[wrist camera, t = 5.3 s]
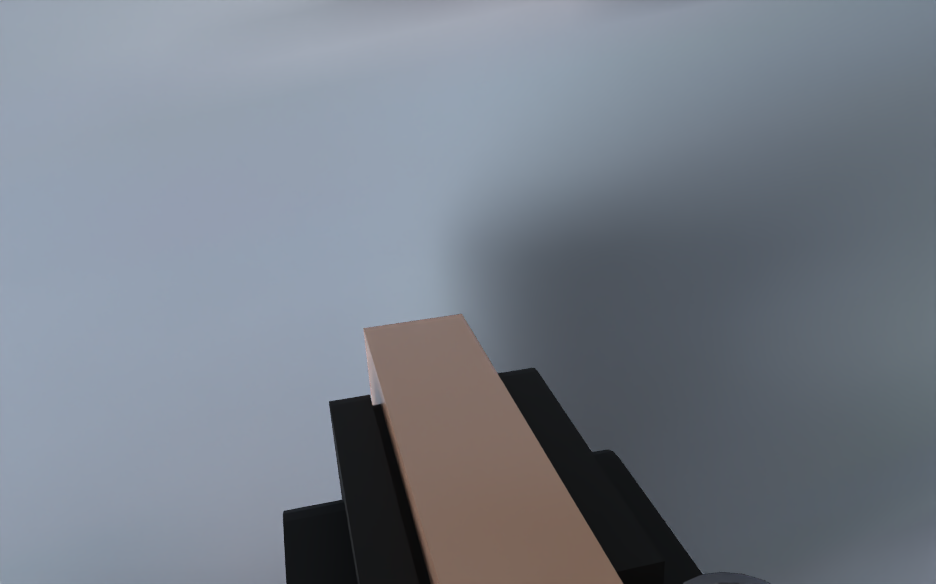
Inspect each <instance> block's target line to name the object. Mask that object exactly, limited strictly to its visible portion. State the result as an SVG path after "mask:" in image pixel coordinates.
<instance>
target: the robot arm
mask: <svg viewBox="0 0 936 584" xmlns="http://www.w3.org/2000/svg"><path fill="white" fill-rule="evenodd" d="M498 375H499V377H500V378H501V380H502V382H503V383H504V385H505V387H506V389H507V390H508V392H509V394H510V395H511V397H512V399H513V400H514V402H515V404H516V405H517V407H518V409H519V410H520V412H521V414H522V415H523V417H524V419H525V420H526V422H527V424H528V425H529V427H530V429H531V430H532V432H533V434H534V435H535V437H536V439H537V440H538V442H539V444H540V445H541V447H542V449H543V450H544V452H545V454H546V455H547V457H548V459H549V460H550V462H551V464H552V465H553V467H554V469H555V470H556V472H557V474H558V475H559V477H560V479H561V480H562V482H563V484H564V485H565V487H566V489H567V490H568V492H569V494H570V496H571V497H572V499H573V501H574V502H575V504H576V506H577V507H578V509H579V511H580V512H581V514H582V516H583V517H584V519H585V521H586V522H587V524H588V526H589V527H590V529H591V531H592V532H593V534H594V536H595V537H596V539H597V541H598V542H599V544H600V546H601V547H602V549H603V551H604V552H605V554H606V556H607V557H608V559H609V561H610V562H611V564H612V566H613V567H614V569H615V571H616V572H617V574H618V576H619V577H620V579H621V581H622V582H623V584H771V583H769V582H767V581H765V580H762V579H758V578H755V577H752V576H748V575H745V574H738V573H726V572H718V573H711V574H704V575H703V574H702V573H701V572H700V570H699V569H698V567H697V566H696V565H695V563H694V562H693V560H692V559H691V558H690V556H689V555H688V553H687V552H686V551H685V549H684V548H683V546H682V545H681V544H680V542H679V541H678V539H677V538H676V537H675V535H674V534H673V532H672V531H671V530H670V528H669V527H668V525H667V524H666V523H665V521H664V520H663V519H662V517H661V516H660V514H659V513H658V512H657V510H656V509H655V507H654V506H653V505H652V503H651V502H650V500H649V499H648V498H647V496H646V495H645V493H644V492H643V491H642V489H641V488H640V486H639V485H638V484H637V482H636V481H635V479H634V478H633V477H632V475H631V474H630V472H629V471H628V470H627V468H626V467H625V465H624V464H623V463H622V461H621V460H620V459H619V457H618V456H617V455H616V454H615V453H614V452H613V451H611V450H602V451H597V452H591V450H590V449H589V447H588V446H587V444H586V443H585V441H584V440H583V438H582V437H581V435H580V434H579V432H578V431H577V429H576V428H575V426H574V425H573V423H572V422H571V420H570V419H569V417H568V416H567V414H566V413H565V411H564V410H563V408H562V407H561V405H560V404H559V402H558V401H557V399H556V398H555V396H554V395H553V394H552V392H551V391H550V389H549V388H548V386H547V385H546V383H545V382H544V380H543V379H542V377H541V376H540V374H539V373H538V371H537V370H536V369H535V368H528V369H522V370H516V371H510V372H504V373H498ZM329 406H330V414H331V421H332V428H333V435H334V443H335V450H336V457H337V464H338V472H339V479H340V486H341V493H342V500H339V501H334V502H328V503H323V504H318V505H312V506H307V507H302V508H297V509H291V510H286V511H284V512H283V527H284V546H285V565H286V584H431V583H430V579H429V575H428V572H427V568H426V565H425V561H424V558H423V554H422V550H421V547H420V543H419V540H418V536H417V532H416V529H415V525H414V522H413V518H412V514H411V511H410V507H409V504H408V500H407V497H406V493H405V489H404V486H403V482H402V479H401V475H400V471H399V468H398V464H397V461H396V457H395V453H394V450H393V446H392V443H391V439H390V436H389V432H388V428H387V425H386V421H385V418H384V414H383V410H382V407H381V404H377V405H372V401H371V398H370V395H365V396H359V397H353V398H347V399H341V400H335V401H329Z"/></svg>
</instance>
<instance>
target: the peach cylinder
mask: <svg viewBox="0 0 936 584" xmlns="http://www.w3.org/2000/svg"><path fill="white" fill-rule="evenodd" d="M363 329H364V338H365V347H366V355H367V364H368V373H369V382H370V390H371V399H372V405H377V404H381V407H382V410H383V414H384V418H385V421H386V425H387V428H388V432H389V436H390V439H391V443H392V446H393V450H394V453H395V457H396V461H397V464H398V468H399V471H400V475H401V479H402V482H403V486H404V489H405V493H406V497H407V500H408V504H409V507H410V511H411V514H412V518H413V522H414V525H415V529H416V532H417V536H418V540H419V543H420V547H421V550H422V554H423V558H424V561H425V565H426V568H427V572H428V575H429V579H430V583H431V584H623V582H622V581H621V579H620V577H619V576H618V574H617V572H616V571H615V569H614V567H613V566H612V564H611V562H610V561H609V559H608V557H607V556H606V554H605V552H604V551H603V549H602V547H601V546H600V544H599V542H598V541H597V539H596V537H595V536H594V534H593V532H592V531H591V529H590V527H589V526H588V524H587V522H586V521H585V519H584V517H583V516H582V514H581V512H580V511H579V509H578V507H577V506H576V504H575V502H574V501H573V499H572V497H571V496H570V494H569V492H568V490H567V489H566V487H565V485H564V484H563V482H562V480H561V479H560V477H559V475H558V474H557V472H556V470H555V469H554V467H553V465H552V464H551V462H550V460H549V459H548V457H547V455H546V454H545V452H544V450H543V449H542V447H541V445H540V444H539V442H538V440H537V439H536V437H535V435H534V434H533V432H532V430H531V429H530V427H529V425H528V424H527V422H526V420H525V419H524V417H523V415H522V414H521V412H520V410H519V409H518V407H517V405H516V404H515V402H514V400H513V399H512V397H511V395H510V394H509V392H508V390H507V389H506V387H505V385H504V383H503V382H502V380H501V378H500V377H499V375H498V373H497V372H496V370H495V368H494V367H493V365H492V363H491V362H490V360H489V358H488V357H487V355H486V353H485V352H484V350H483V348H482V347H481V345H480V343H479V342H478V340H477V338H476V337H475V335H474V333H473V332H472V330H471V328H470V327H469V325H468V323H467V322H466V320H465V318H464V317H463V315H462V314H457V315H450V316H444V317H437V318H430V319H423V320H417V321H410V322H403V323H396V324H389V325H383V326H376V327H369V328H363Z"/></svg>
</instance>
